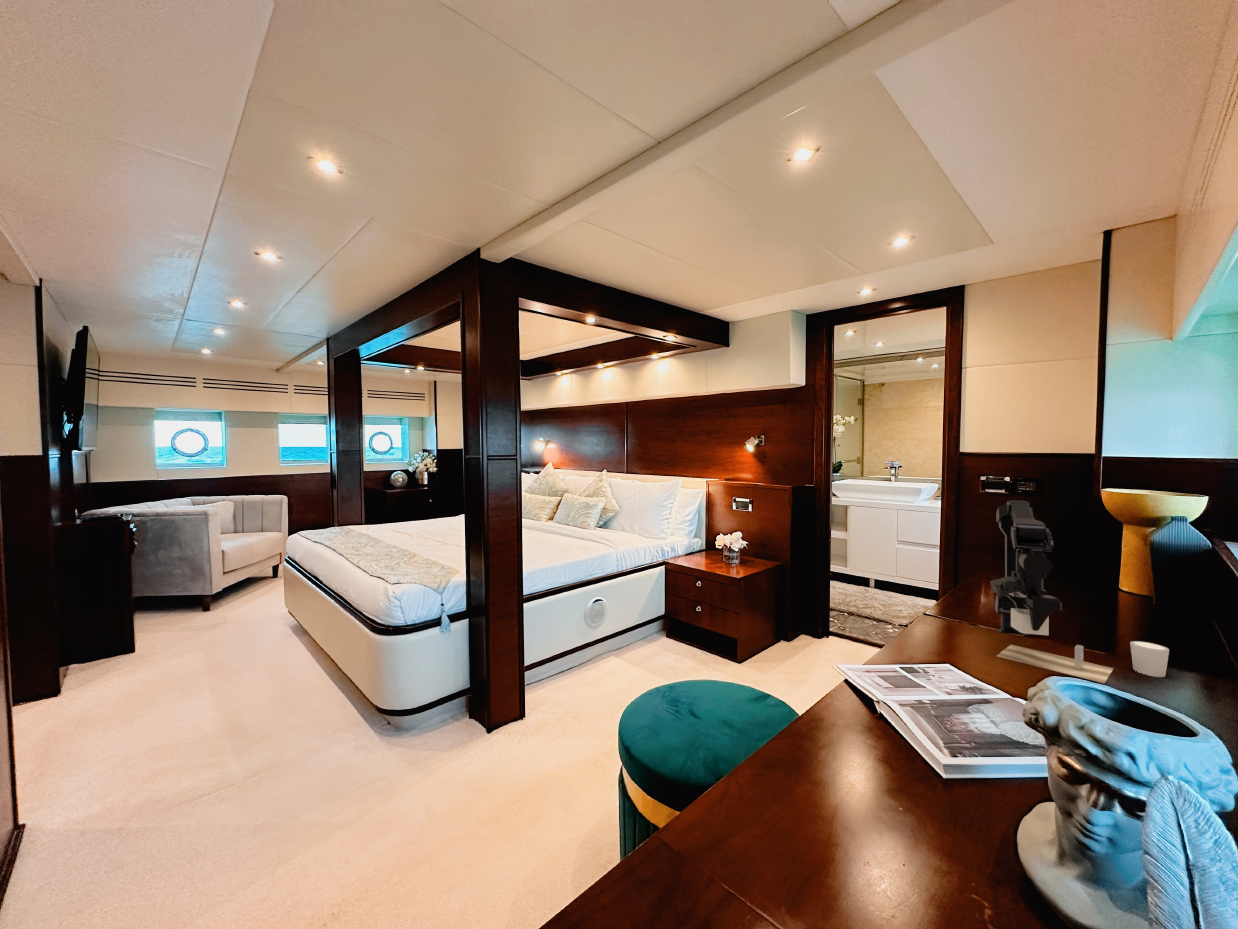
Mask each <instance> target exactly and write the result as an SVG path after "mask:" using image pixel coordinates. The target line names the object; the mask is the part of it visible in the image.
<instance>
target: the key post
mask: <svg viewBox="0 0 1238 929" xmlns="http://www.w3.org/2000/svg"><path fill="white" fill-rule="evenodd" d="M1074 659H1075V669H1077V670H1082V668H1083V661H1084V645H1080V644H1076V645H1075V646H1074Z"/></svg>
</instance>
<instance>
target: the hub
mask: <svg viewBox="0 0 1238 929" xmlns="http://www.w3.org/2000/svg"><path fill="white" fill-rule="evenodd" d="M1049 617H1050V615H1049V616H1048V617H1047V619H1046V620H1045V622H1044V623H1043V624H1042V626H1041V627H1040V629H1039V630H1038V631H1034V630H1033V629H1032V624H1031V618H1030V611H1029V610H1028V609H1015V608H1011V627H1013V628H1014V629H1016V630H1018V631H1019V632H1021V633H1026V634H1028V635H1037V636H1038V635H1040V636H1049V635H1050V633H1049V629H1050V626H1049V623H1050V618H1049Z"/></svg>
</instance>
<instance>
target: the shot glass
mask: <svg viewBox="0 0 1238 929" xmlns="http://www.w3.org/2000/svg"><path fill="white" fill-rule="evenodd" d="M1129 645H1130V646H1129V647H1130V654H1131V660H1132V670H1135V671H1134V672H1136V671H1137V673H1139V674H1141V673H1142V674H1141V675H1145V674H1146V675H1145V676H1150V677H1154V678H1165V677H1166V675H1167V667H1168V662H1169V655H1170V649H1169V648H1168V647H1166V646H1164V645H1160V644H1156V643H1153V642H1147V641H1140V640H1139V641H1138V640H1134V641H1130V642H1129Z"/></svg>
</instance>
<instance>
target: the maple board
mask: <svg viewBox="0 0 1238 929" xmlns="http://www.w3.org/2000/svg"><path fill="white" fill-rule="evenodd" d="M996 657H998V658H1003V659H1007V660H1010V661H1013V662H1018V663H1019V662H1020V663H1023V664H1026V665H1030V666H1033V667H1038V668H1041V669H1046V670H1049V671H1054V672H1057V673H1062V674H1065V675H1069V676H1073V677H1078V678H1081V679H1086V680H1089V681H1093V682H1096V683H1100V684H1105V683H1106V682H1107V680H1108V678H1109V676H1110V675H1111V673H1112V672H1113V671H1114V667H1109V666H1105V665H1100V664H1096V663H1093V662H1088V661H1085V660H1083V668H1082V670H1077V669H1075V658H1071V657H1067V656H1062V655H1058V654H1054V653H1050V652H1045V651H1041V650H1037V649H1033V648H1028V647H1024V646H1021V645H1020V646H1019V645H1014V644H1009V645H1008V646H1007V647H1006V648H1004V649H1003V650H1002V651H1000V652H999V653H998V654H997V655H996Z"/></svg>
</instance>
